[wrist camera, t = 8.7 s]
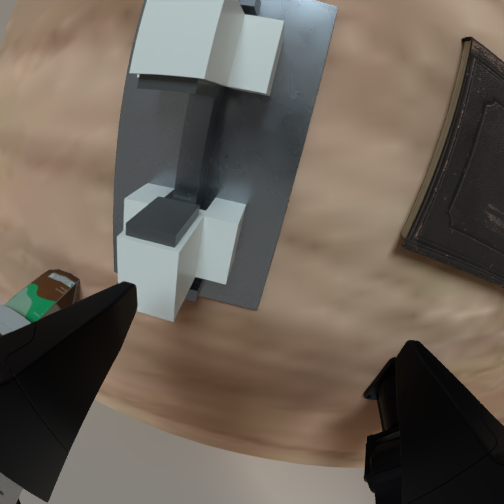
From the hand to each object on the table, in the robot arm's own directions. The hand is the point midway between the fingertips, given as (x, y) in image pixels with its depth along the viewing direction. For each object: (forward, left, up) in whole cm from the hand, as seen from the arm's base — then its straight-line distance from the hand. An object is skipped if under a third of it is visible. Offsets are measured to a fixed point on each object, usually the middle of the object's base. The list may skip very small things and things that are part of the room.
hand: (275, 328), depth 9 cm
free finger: (-2, +6, -11) cm, 13 cm away
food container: (-14, +21, -12) cm, 28 cm away
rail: (+3, +6, -12) cm, 13 cm away
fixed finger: (+9, +6, -11) cm, 15 cm away
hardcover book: (+7, -20, -13) cm, 25 cm away
